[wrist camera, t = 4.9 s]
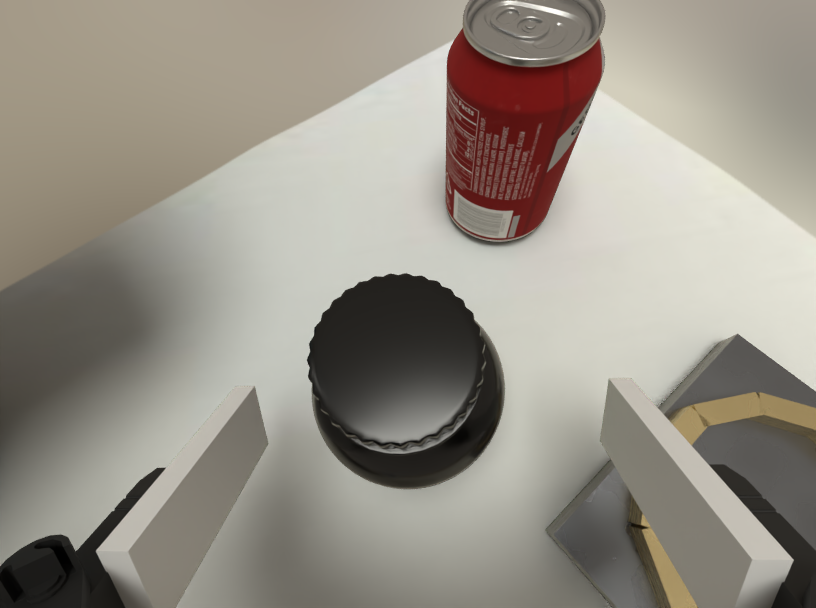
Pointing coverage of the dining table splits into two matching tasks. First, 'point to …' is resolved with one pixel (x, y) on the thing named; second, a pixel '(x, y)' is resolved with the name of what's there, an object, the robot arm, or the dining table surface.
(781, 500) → the carrier
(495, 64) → the soda can
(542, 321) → the dining table surface
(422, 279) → the supplement bottle
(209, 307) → the dining table surface
